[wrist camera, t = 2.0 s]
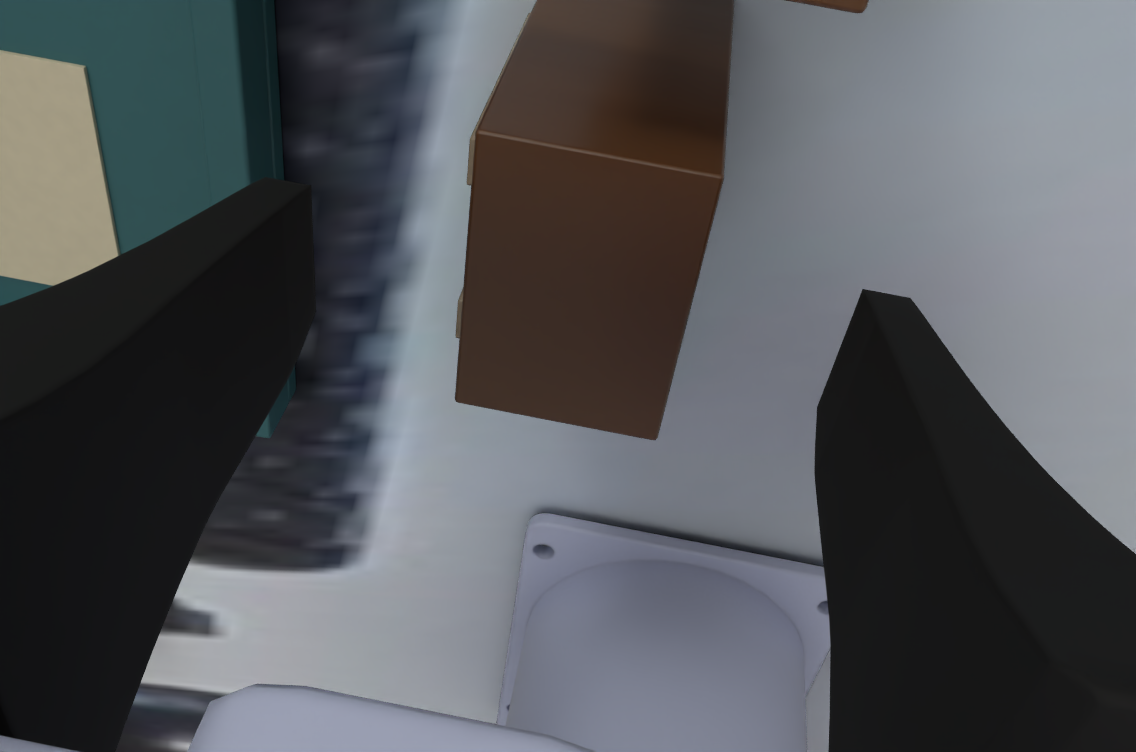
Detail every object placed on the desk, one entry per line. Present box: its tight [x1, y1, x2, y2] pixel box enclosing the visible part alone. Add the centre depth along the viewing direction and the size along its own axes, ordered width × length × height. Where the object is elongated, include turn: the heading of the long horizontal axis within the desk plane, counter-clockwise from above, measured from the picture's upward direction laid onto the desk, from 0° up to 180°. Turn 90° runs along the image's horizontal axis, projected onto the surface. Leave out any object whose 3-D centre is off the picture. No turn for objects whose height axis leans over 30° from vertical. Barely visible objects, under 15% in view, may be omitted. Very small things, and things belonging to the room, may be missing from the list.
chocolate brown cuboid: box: [455, 0, 734, 440], centre depth 16 cm, size 4×3×6 cm
